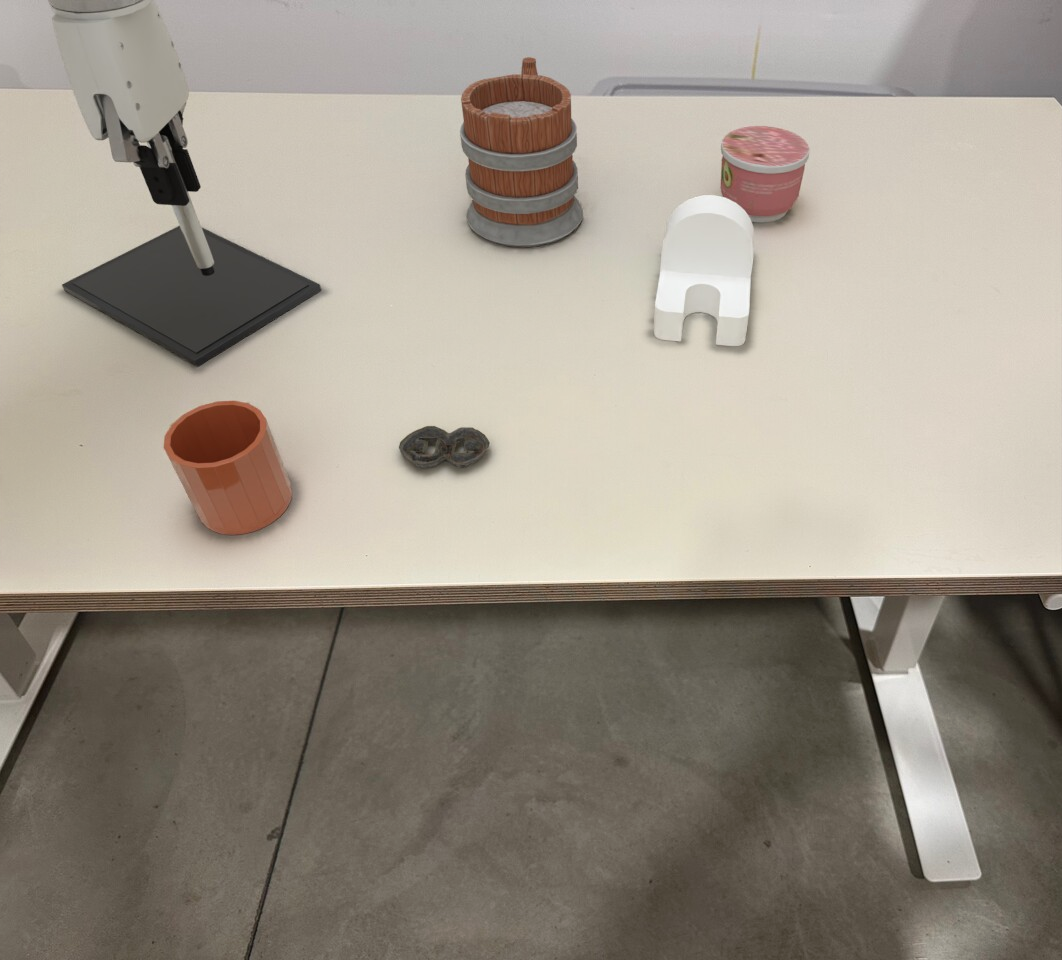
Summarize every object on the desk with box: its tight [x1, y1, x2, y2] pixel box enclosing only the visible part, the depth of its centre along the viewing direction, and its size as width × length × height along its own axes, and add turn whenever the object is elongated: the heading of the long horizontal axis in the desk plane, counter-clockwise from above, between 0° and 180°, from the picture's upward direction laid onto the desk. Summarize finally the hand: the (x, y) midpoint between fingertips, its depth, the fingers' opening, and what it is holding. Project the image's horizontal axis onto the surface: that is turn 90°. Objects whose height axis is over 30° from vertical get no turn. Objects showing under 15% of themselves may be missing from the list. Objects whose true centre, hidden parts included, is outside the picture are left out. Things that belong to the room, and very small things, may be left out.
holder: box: [163, 400, 293, 536], centre depth 73 cm, size 8×8×8 cm
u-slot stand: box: [653, 194, 755, 347], centre depth 95 cm, size 10×18×11 cm, turn 174°
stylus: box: [146, 135, 214, 276], centre depth 85 cm, size 2×2×14 cm
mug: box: [459, 56, 584, 248], centre depth 105 cm, size 14×19×15 cm
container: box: [719, 125, 810, 223], centre depth 109 cm, size 10×10×8 cm
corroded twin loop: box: [398, 425, 490, 469], centre depth 80 cm, size 5×8×1 cm, turn 91°
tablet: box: [61, 225, 322, 368], centre depth 96 cm, size 16×22×1 cm
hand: (177, 195), depth 84 cm, fingers closed on stylus, 1 cm apart
